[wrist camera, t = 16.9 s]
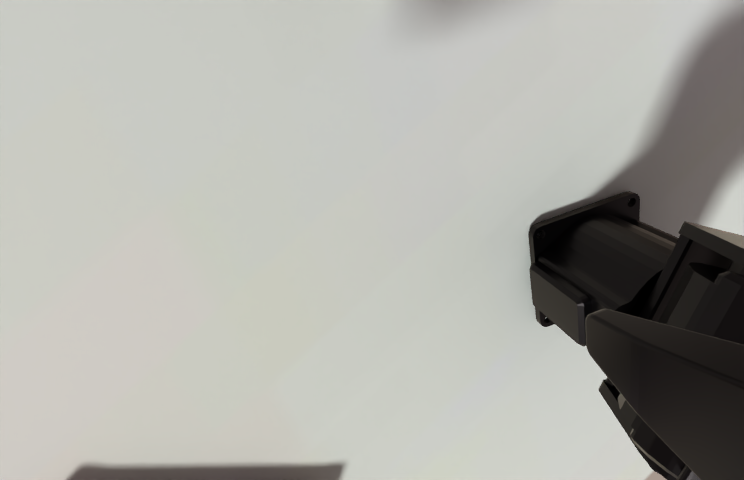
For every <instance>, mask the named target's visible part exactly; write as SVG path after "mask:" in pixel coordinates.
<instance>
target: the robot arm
mask: <svg viewBox="0 0 744 480" xmlns="http://www.w3.org/2000/svg"><path fill="white" fill-rule="evenodd" d="M629 200H630V201H629ZM628 201H629V203H628ZM639 209H640V198H639V196H638V194H635V193H632V192H630V191H628V192H624V193H622V194H619V195H616V196H613V197H610V198H607V199H605V200H602V201H599V202H596V203H593V204H591V205H588V206H585V207H582V208H579V209H576V210H574V211H571V212H568V213H565V214H562V215H560V216H557V217H554V218H551V219H548V220H545V221H543V222H540V223H537V224H535V225H533V226H532V227H531V228H530V230H529V245H530V256H531V266H530V279H531V289H532V300H533V305H534V306H535V310H536V319H537V321H538V322H539V323H540V324H541V325H542V326H544V327H547V326H551V325H553V324H556V325H557V326H558V327H559V328H560V329H561V330H563V331H564V332H565V333H566V334H567V335H568V336H570V337H571V338H572V339H573V340H574V341H575V342H576V343H578V344H580V345H582V346H587V349H588V352H589V354H590V355H591V357H592V358H593V359H594V361H595V362H596V363H597V364H598V366H599V367H600V368H601V369H602V371H603V372H604V373H605V374H606V376H607V379H606V380H603V382H602V384H601V386H600V388H599V392H600V393H601V395H602V396H603V398H604V399H605V401H606V402H607V404H608V405H609V407H610V408H611V410H612V411H613V413H614V415H615V416H616V418H617V419H618V421H619V422H620V424H621V425H622V427H623V428H624V430H625V431H626V433H627V434H628V436H629V438H630V439H631V441H632V442H633V444H634V445H635V447H636V448H637V450H638V451H639V453H640V454H641V455H642V457H643V458H644V459H645V460H646V461H647V463H648V464H649V466H650V467H651V468H652V469H653V470H654V471H655V472H657V473H659V474H661V475H662V476H663V477H664V478H666V479H667V480H744V236H742V235H738V234H734V233H730V232H726V231H722V230H718V229H714V228H710V227H706V226H702V225H698V224H694V223H689V222H684V223H683V225H682V227H681V229H680V231H679V234H681V235H680V237H679V238H677V237H675V236H672V235H670V234H668V233H665V232H663V231H661V230H659V229H656V228H654V227H652V226H649V225H647V224H645V223H642V222H640V221H639ZM540 231H541V234H540V235H539V236H537V234H538V233H539V232H540ZM545 317H547V318H545Z"/></svg>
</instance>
